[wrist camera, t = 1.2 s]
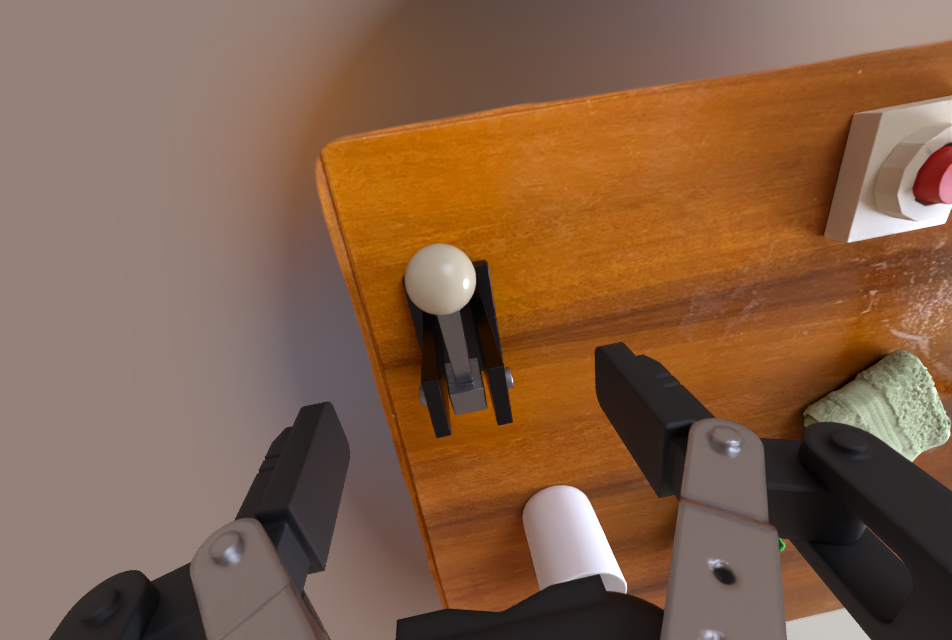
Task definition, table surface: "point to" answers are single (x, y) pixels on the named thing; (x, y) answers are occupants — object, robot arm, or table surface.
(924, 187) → the button
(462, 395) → the lever
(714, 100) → the table surface
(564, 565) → the cup
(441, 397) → the bracket
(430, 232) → the table surface
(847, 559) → the robot arm
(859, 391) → the washcloth
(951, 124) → the button box
